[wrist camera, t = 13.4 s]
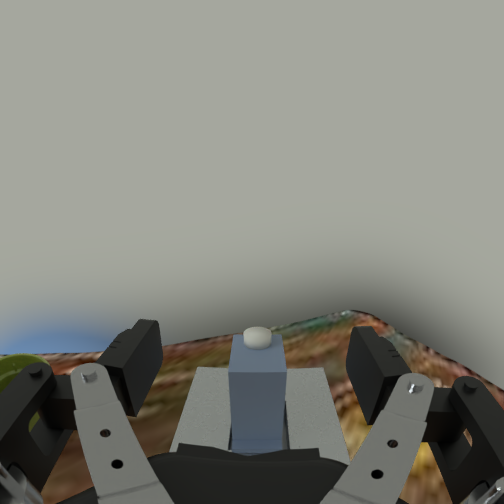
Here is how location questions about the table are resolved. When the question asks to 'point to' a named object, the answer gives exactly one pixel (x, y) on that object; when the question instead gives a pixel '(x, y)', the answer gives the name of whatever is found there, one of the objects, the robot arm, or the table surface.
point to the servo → (257, 391)
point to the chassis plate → (294, 422)
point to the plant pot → (17, 372)
